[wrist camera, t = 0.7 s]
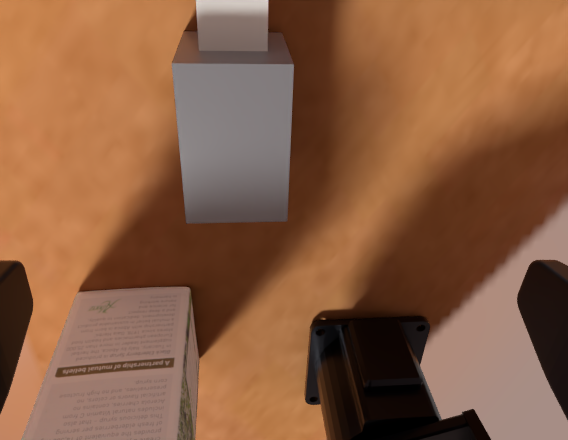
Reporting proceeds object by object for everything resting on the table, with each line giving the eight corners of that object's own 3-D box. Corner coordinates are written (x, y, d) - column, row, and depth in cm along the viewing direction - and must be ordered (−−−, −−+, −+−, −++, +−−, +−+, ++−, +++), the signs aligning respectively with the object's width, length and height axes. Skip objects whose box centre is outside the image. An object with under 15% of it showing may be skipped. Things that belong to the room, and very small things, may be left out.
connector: (278, 166, 21) (287, 221, 18) (194, 167, 21) (185, 223, 17) (283, -22, 18) (296, -1, 14) (179, -24, 17) (165, -4, 13)
